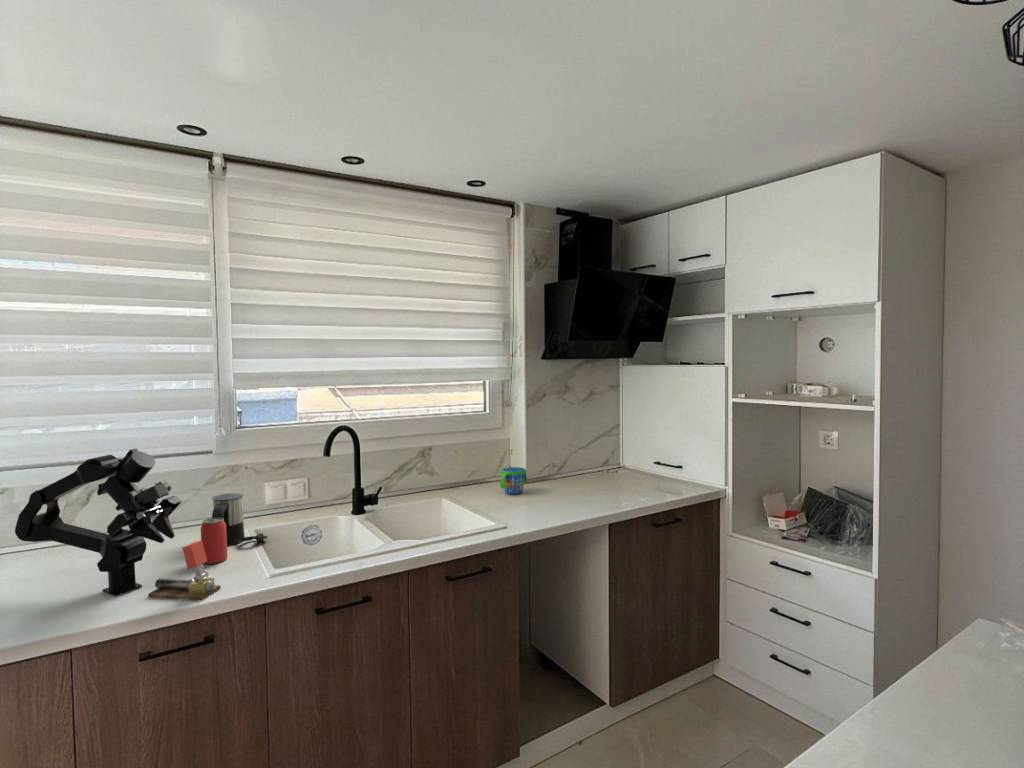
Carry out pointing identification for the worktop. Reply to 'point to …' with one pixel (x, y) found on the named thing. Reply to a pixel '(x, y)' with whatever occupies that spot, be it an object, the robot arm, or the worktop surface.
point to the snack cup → (513, 480)
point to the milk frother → (232, 517)
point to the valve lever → (196, 559)
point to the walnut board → (180, 594)
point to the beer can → (214, 540)
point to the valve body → (186, 585)
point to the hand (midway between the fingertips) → (168, 539)
